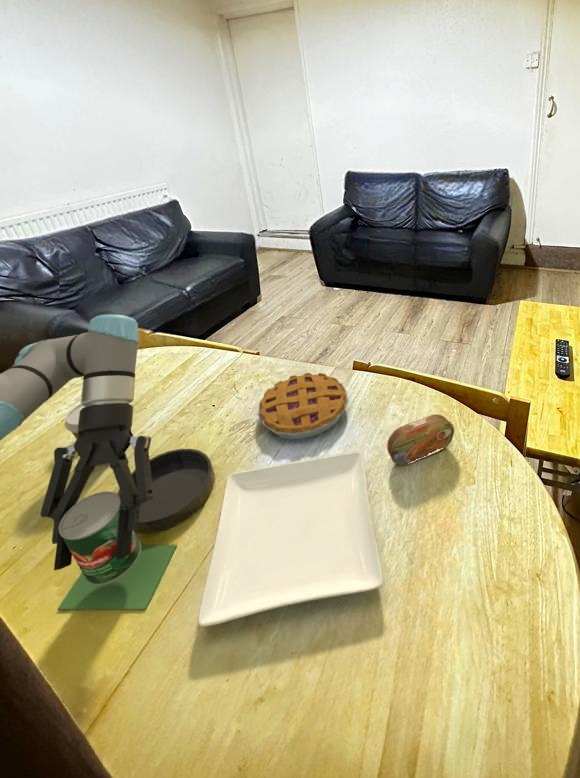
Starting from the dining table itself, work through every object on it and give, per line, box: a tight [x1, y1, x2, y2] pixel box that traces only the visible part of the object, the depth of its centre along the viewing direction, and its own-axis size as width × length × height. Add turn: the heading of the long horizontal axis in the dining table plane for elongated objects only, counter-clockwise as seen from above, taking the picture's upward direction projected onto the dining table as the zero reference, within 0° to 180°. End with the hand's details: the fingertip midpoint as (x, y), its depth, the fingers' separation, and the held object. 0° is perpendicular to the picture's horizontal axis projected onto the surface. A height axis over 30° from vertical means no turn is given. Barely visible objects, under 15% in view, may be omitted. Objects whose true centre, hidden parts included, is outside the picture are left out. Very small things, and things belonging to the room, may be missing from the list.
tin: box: [386, 413, 455, 466], centre depth 87 cm, size 15×3×8 cm, turn 114°
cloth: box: [57, 544, 178, 611], centre depth 68 cm, size 14×10×1 cm
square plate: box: [197, 450, 384, 628], centre depth 73 cm, size 27×27×4 cm
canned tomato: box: [59, 490, 142, 585], centre depth 64 cm, size 8×8×11 cm
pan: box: [116, 448, 216, 534], centre depth 82 cm, size 17×17×3 cm
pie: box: [257, 372, 349, 440], centre depth 102 cm, size 22×22×5 cm
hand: (93, 561), depth 61 cm, fingers closed on canned tomato, 8 cm apart
